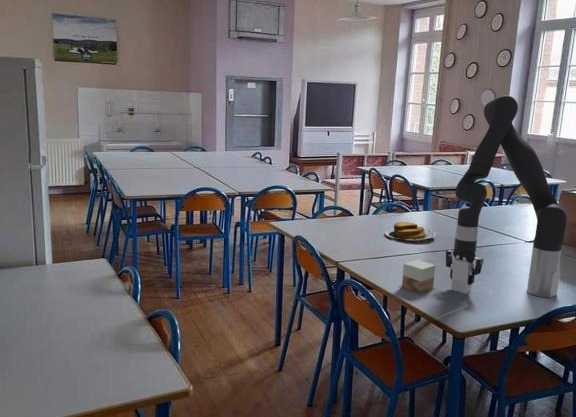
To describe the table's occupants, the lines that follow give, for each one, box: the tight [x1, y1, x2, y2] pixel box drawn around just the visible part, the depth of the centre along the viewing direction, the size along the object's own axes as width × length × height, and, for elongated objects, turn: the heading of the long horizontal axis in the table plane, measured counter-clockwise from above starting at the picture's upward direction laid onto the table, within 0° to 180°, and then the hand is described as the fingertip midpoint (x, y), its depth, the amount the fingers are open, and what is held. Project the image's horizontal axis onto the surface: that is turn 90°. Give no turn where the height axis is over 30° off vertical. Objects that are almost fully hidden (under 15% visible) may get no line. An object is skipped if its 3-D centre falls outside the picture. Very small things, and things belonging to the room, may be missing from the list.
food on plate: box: [384, 221, 438, 244], centre depth 269 cm, size 25×25×7 cm
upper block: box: [402, 259, 436, 281], centre depth 195 cm, size 8×8×4 cm
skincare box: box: [450, 258, 472, 295], centre depth 194 cm, size 6×4×12 cm
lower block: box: [401, 275, 435, 293], centre depth 196 cm, size 8×8×4 cm
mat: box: [398, 285, 437, 296], centre depth 196 cm, size 10×10×1 cm
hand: (461, 281), depth 195 cm, fingers closed on skincare box, 6 cm apart
